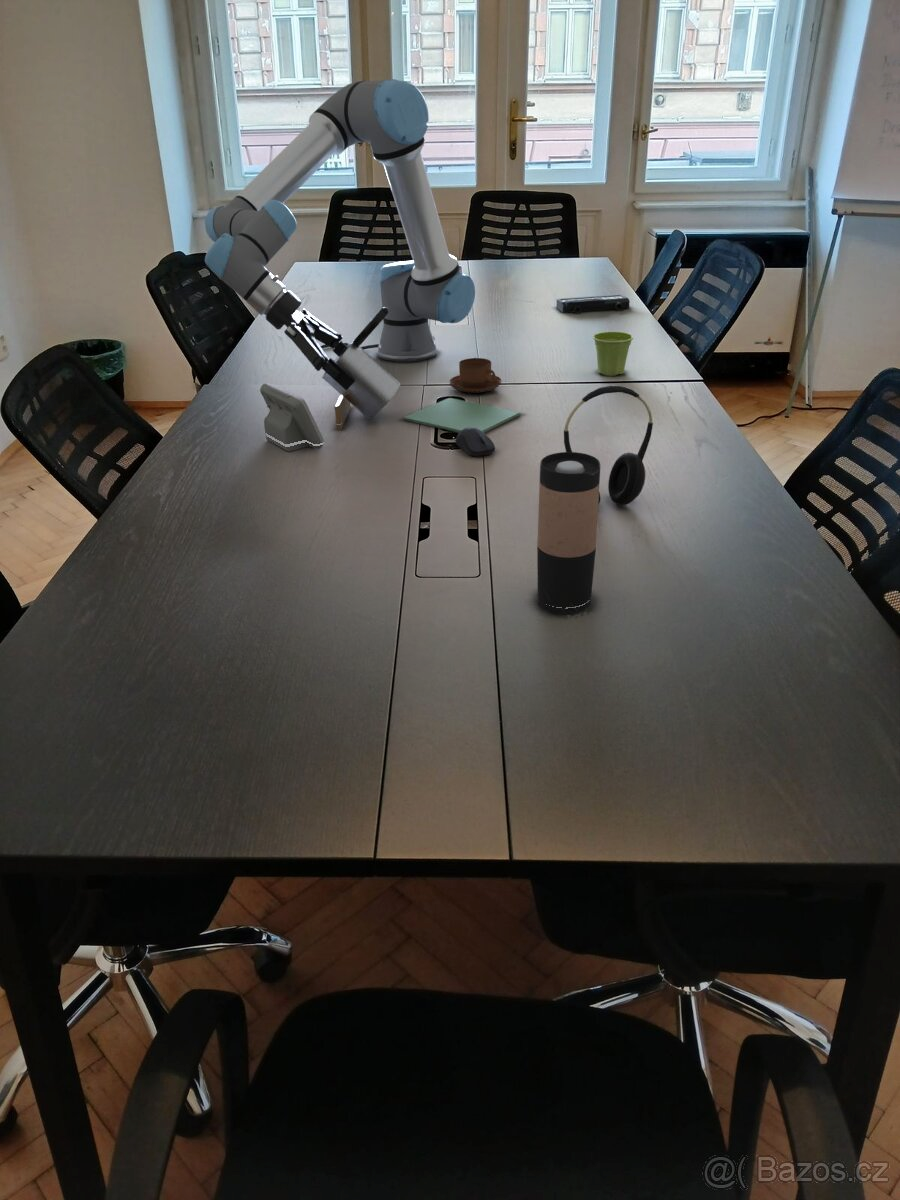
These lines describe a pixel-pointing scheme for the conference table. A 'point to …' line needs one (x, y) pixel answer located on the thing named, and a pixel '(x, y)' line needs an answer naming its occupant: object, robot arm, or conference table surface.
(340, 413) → the wooden block
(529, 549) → the conference table surface
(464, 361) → the cup and saucer
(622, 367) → the plant pot
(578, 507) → the travel mug
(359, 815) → the conference table surface
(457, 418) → the mat
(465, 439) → the computer mouse
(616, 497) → the headphones
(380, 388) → the pot
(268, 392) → the digital clock
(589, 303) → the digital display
